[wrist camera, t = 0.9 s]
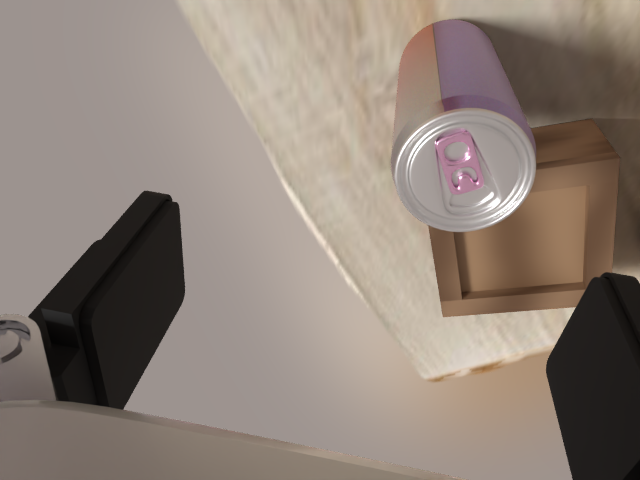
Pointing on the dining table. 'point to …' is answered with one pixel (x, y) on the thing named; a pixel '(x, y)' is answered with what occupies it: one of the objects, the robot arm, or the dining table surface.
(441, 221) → the beverage can
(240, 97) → the dining table surface
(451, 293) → the walnut box
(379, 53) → the dining table surface
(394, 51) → the dining table surface
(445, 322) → the dining table surface
